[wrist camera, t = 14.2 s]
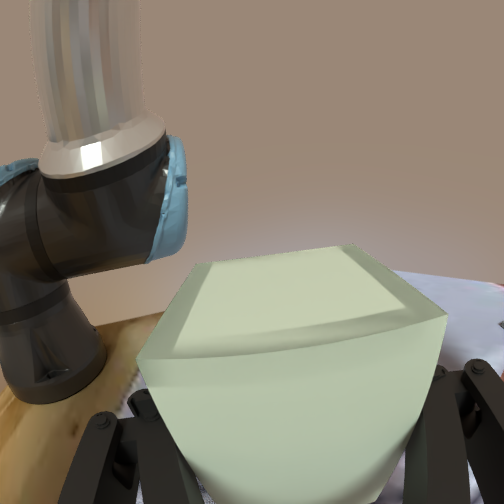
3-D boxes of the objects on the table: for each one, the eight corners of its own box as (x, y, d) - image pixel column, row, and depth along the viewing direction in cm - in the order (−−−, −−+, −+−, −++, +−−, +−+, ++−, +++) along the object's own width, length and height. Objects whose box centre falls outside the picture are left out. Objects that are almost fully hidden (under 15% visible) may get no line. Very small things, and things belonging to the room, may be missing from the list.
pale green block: (236, 427, 15) (196, 264, 12) (346, 413, 14) (353, 243, 12) (230, 521, 8) (135, 359, 5) (375, 501, 8) (448, 314, 5)
